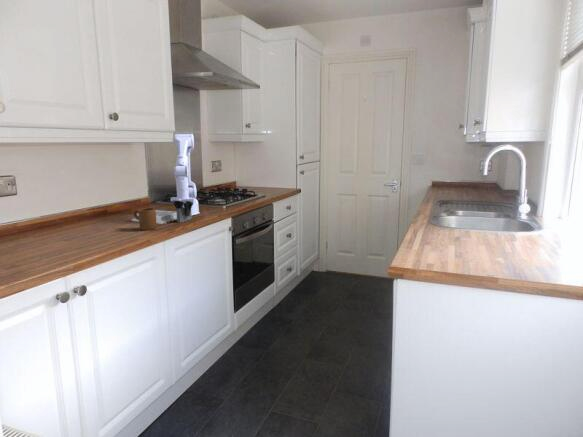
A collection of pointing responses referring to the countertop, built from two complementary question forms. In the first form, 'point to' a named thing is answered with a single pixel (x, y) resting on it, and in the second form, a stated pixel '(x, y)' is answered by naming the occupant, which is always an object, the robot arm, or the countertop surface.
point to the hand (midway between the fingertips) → (184, 215)
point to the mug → (146, 218)
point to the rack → (163, 216)
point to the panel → (182, 215)
